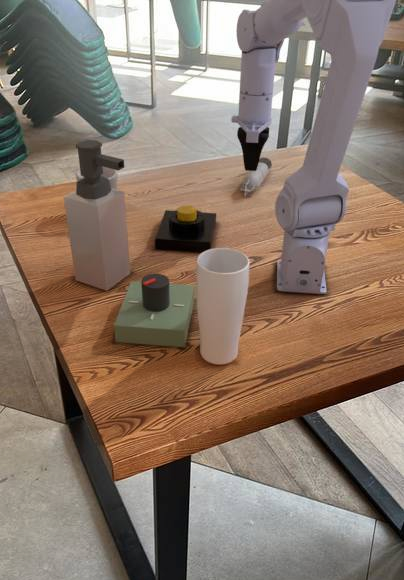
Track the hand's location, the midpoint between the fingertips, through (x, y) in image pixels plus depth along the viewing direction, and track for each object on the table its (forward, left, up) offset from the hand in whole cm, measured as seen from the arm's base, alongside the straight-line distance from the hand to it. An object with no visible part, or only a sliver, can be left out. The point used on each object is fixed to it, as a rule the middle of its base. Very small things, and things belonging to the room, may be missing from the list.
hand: (250, 169), depth 107 cm
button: (-8, +11, -7) cm, 15 cm away
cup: (-1, +29, -11) cm, 31 cm away
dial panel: (-36, +12, -10) cm, 39 cm away
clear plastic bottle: (+19, -1, -11) cm, 22 cm away
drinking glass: (-43, +2, -11) cm, 44 cm away
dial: (-36, +12, -7) cm, 39 cm away
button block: (-8, +11, -10) cm, 17 cm away
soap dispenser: (-25, +22, -11) cm, 35 cm away
